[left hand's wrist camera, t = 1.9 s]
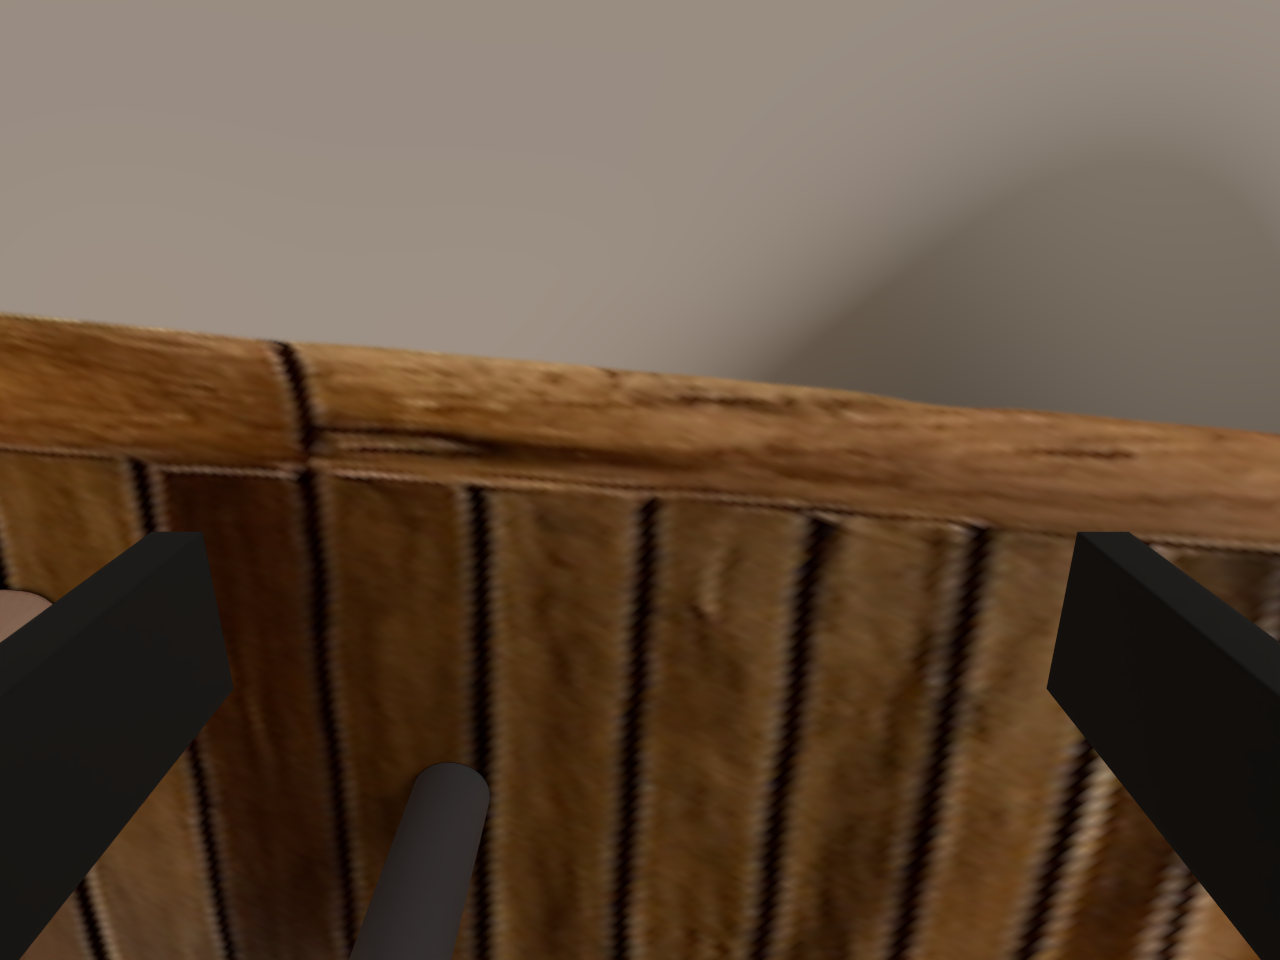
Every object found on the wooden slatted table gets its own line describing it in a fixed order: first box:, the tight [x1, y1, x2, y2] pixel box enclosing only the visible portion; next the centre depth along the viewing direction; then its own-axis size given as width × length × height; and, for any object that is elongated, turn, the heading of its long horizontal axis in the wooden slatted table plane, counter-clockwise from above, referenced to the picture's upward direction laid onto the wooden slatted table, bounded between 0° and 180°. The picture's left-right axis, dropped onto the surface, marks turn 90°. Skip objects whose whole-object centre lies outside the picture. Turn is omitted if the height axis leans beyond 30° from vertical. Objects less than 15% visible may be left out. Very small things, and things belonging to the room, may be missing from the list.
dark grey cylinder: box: [349, 763, 490, 960], centre depth 41 cm, size 4×4×16 cm
